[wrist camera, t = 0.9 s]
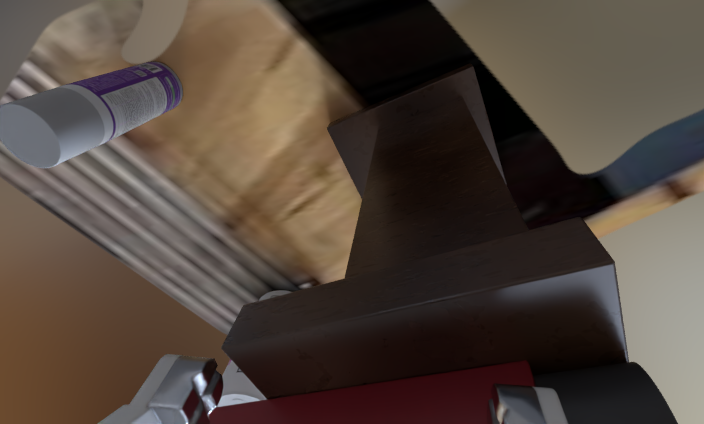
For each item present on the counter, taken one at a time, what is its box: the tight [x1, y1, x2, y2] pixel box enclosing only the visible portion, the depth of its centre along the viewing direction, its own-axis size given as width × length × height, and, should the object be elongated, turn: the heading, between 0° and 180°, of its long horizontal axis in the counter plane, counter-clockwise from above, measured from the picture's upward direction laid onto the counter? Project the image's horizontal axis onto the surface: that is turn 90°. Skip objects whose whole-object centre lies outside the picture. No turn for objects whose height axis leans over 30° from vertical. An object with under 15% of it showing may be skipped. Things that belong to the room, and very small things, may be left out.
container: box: [0, 62, 183, 168], centre depth 30 cm, size 5×5×15 cm
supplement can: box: [217, 290, 292, 407], centre depth 45 cm, size 8×8×15 cm
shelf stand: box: [222, 63, 629, 399], centre depth 25 cm, size 14×12×26 cm
